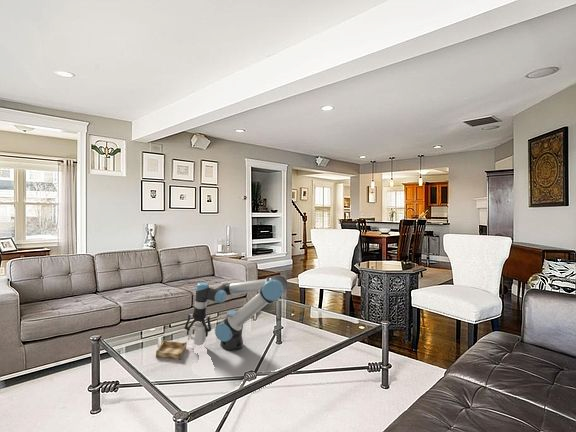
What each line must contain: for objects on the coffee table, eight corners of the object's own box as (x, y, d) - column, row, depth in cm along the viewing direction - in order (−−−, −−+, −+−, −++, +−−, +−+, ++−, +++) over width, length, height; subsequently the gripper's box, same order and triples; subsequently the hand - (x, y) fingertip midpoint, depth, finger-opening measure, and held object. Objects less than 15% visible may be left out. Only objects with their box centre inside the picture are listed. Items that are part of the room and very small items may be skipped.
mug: (203, 340, 229) (205, 322, 228) (204, 344, 223) (206, 327, 222) (187, 341, 225) (189, 323, 224) (188, 346, 219) (190, 327, 218)
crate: (185, 348, 220) (186, 342, 220) (180, 360, 206) (181, 353, 205) (163, 345, 219) (163, 339, 219) (155, 357, 205) (156, 350, 204)
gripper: (218, 306, 226) (214, 339, 228) (184, 303, 225) (180, 336, 227) (216, 310, 219) (212, 344, 221) (181, 307, 218) (177, 341, 220)
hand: (196, 340), depth 224 cm, fingers closed on mug, 9 cm apart
